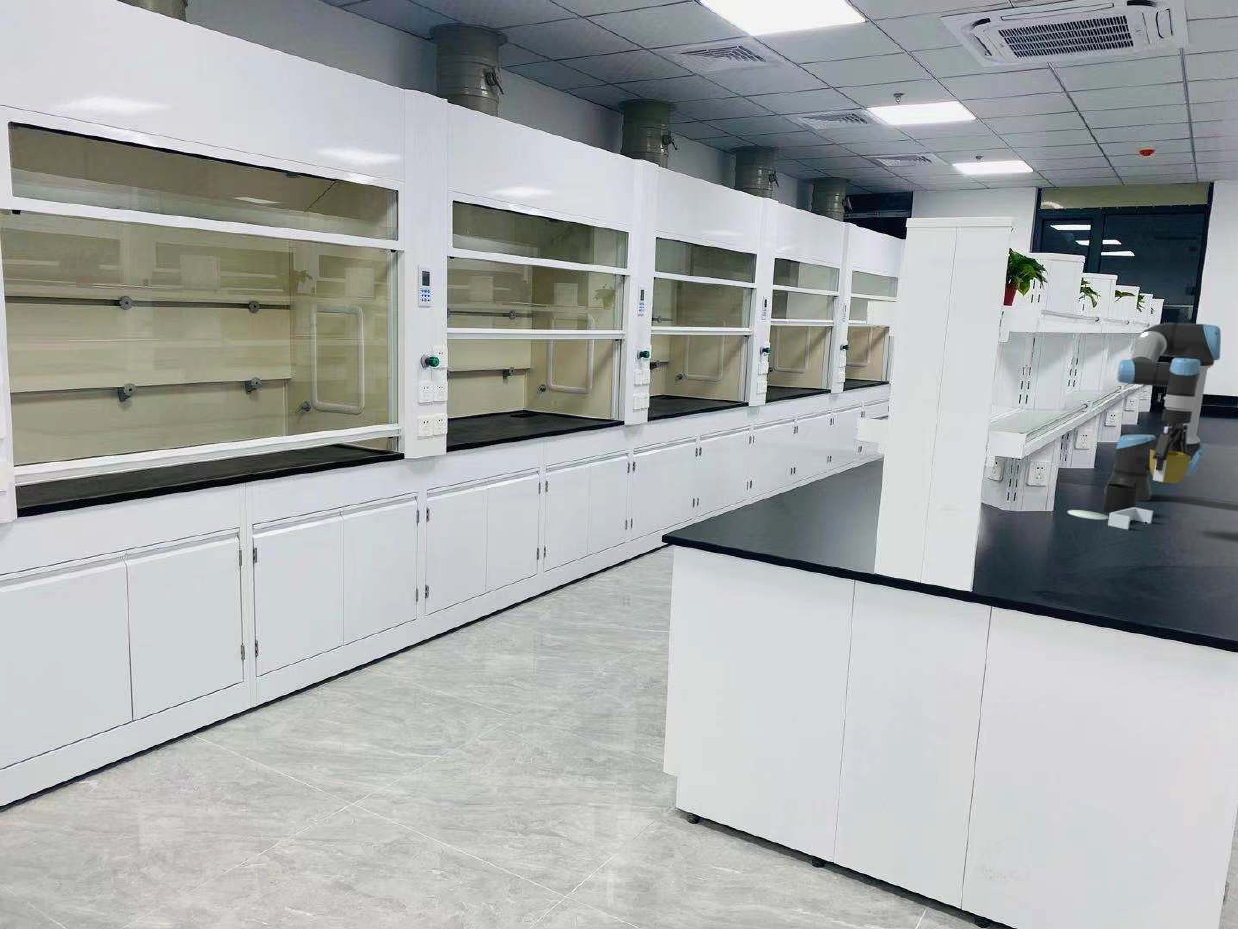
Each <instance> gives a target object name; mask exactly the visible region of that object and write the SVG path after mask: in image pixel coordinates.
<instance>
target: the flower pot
mask: <svg viewBox="0 0 1238 929" xmlns="http://www.w3.org/2000/svg"><path fill="white" fill-rule="evenodd" d="M1154 453H1155V450H1150V470H1151V471H1150V473H1151V476H1152V477H1153V475H1154V469H1155V464H1156V459H1153V456H1154ZM1166 460H1167V463H1166V469H1165V475H1164V480H1163V482H1161V481H1158V482H1159V483H1168V484H1169V483H1170V484H1178V483H1179V482H1181V480H1182V479H1183V478H1184V477H1185V476H1184V475H1185V473H1186V471H1187V469H1188V466H1189V463H1190V460H1191V457H1190V456H1188V455H1186V454H1183V453H1180V452H1171V451H1169V453H1168V455H1167V457H1166Z"/></svg>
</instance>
